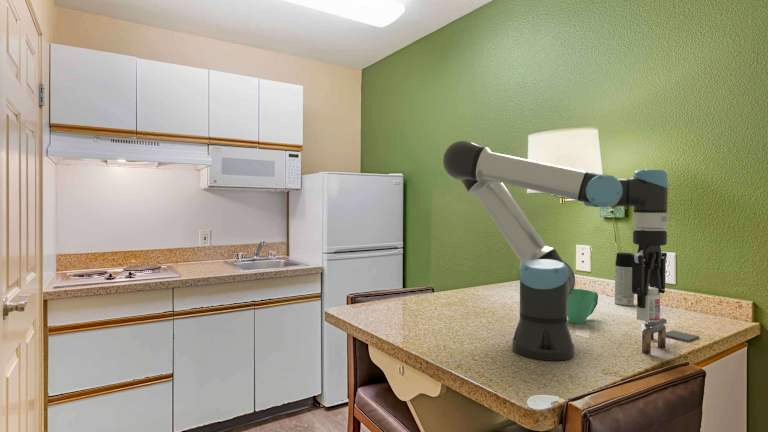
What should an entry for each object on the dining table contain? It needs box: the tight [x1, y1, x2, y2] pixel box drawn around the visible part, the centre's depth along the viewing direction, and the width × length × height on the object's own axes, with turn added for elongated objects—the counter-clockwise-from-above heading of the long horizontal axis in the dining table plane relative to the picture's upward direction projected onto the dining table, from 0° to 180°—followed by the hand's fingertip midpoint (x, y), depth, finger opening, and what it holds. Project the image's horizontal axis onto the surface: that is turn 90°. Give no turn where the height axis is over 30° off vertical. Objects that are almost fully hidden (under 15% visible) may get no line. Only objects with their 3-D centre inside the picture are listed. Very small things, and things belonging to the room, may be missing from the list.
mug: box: [567, 288, 599, 324], centre depth 144 cm, size 15×10×10 cm
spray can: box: [614, 252, 635, 307], centre depth 169 cm, size 7×7×20 cm
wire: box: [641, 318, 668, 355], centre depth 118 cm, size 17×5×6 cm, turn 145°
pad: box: [666, 329, 700, 343], centre depth 126 cm, size 7×7×1 cm
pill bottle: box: [647, 286, 661, 322], centre depth 113 cm, size 5×5×8 cm
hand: (648, 318), depth 113 cm, fingers closed on pill bottle, 5 cm apart
